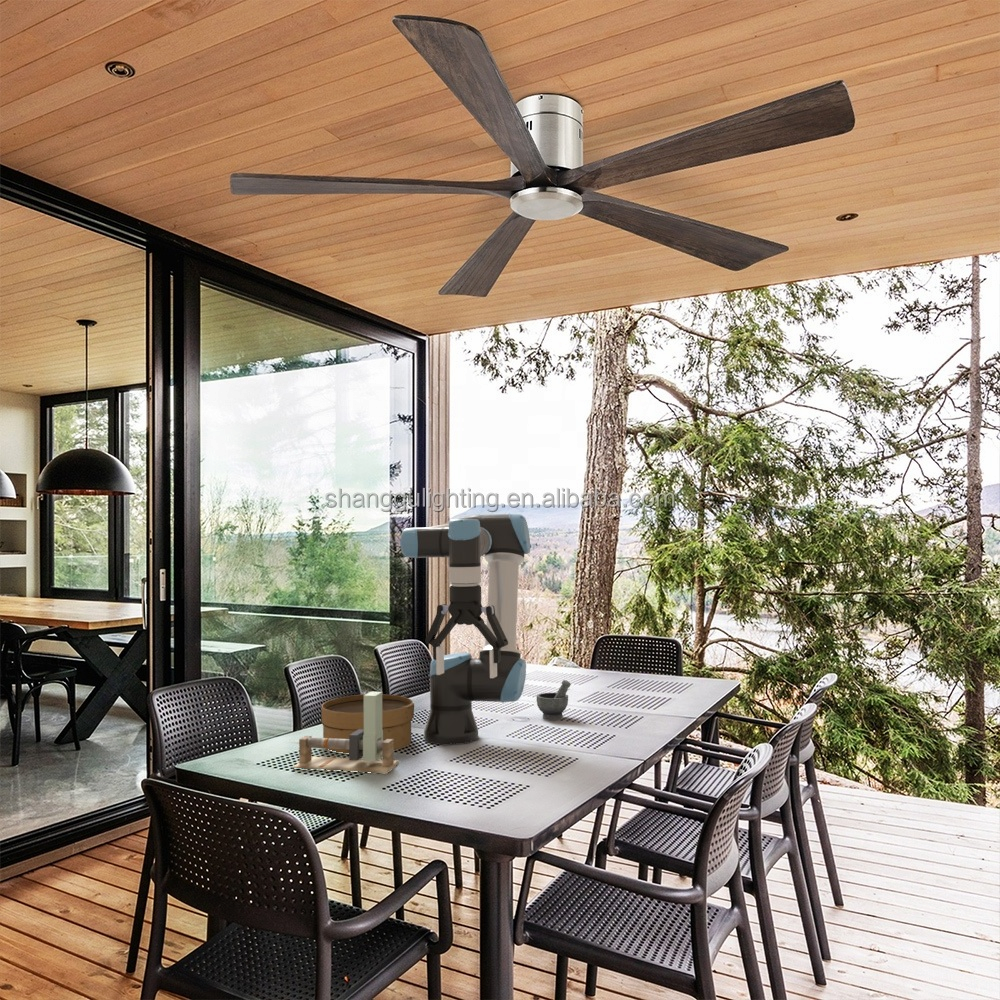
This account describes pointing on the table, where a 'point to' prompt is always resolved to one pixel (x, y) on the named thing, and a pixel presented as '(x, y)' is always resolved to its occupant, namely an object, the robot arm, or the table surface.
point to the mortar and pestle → (554, 702)
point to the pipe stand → (344, 763)
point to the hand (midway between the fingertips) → (466, 675)
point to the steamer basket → (349, 717)
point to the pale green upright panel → (372, 725)
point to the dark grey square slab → (355, 744)
